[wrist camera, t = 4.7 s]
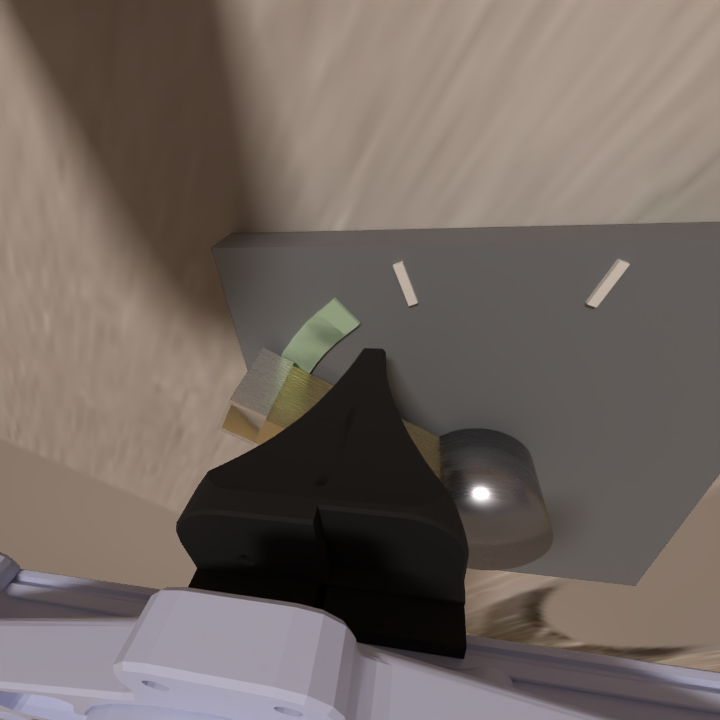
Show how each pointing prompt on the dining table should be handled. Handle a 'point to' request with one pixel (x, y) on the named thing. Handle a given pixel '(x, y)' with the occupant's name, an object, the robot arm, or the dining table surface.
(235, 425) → the brown bar with cylinder
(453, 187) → the dining table surface
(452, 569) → the robot arm
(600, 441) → the dial board
